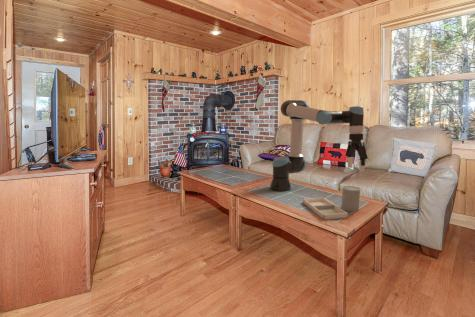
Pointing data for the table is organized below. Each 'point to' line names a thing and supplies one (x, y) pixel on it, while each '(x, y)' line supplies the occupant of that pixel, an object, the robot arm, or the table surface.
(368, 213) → the table surface
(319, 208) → the tray
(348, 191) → the white speckled round cylinder
